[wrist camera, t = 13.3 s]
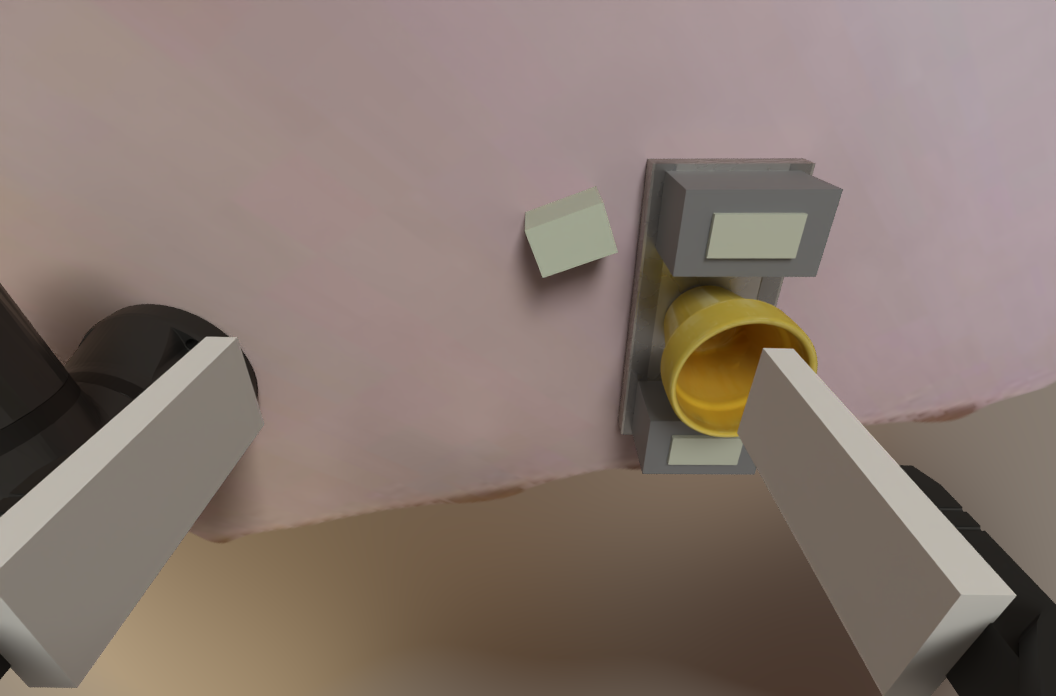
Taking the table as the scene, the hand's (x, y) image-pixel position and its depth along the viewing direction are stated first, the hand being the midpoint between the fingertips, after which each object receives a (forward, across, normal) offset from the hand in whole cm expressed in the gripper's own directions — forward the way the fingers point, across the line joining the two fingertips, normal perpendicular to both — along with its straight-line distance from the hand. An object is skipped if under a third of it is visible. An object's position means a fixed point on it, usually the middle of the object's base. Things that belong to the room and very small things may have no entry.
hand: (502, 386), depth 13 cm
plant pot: (+28, +16, -12) cm, 35 cm away
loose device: (+30, +4, -4) cm, 31 cm away
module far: (+28, +17, -22) cm, 39 cm away
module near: (+28, +16, -3) cm, 32 cm away
